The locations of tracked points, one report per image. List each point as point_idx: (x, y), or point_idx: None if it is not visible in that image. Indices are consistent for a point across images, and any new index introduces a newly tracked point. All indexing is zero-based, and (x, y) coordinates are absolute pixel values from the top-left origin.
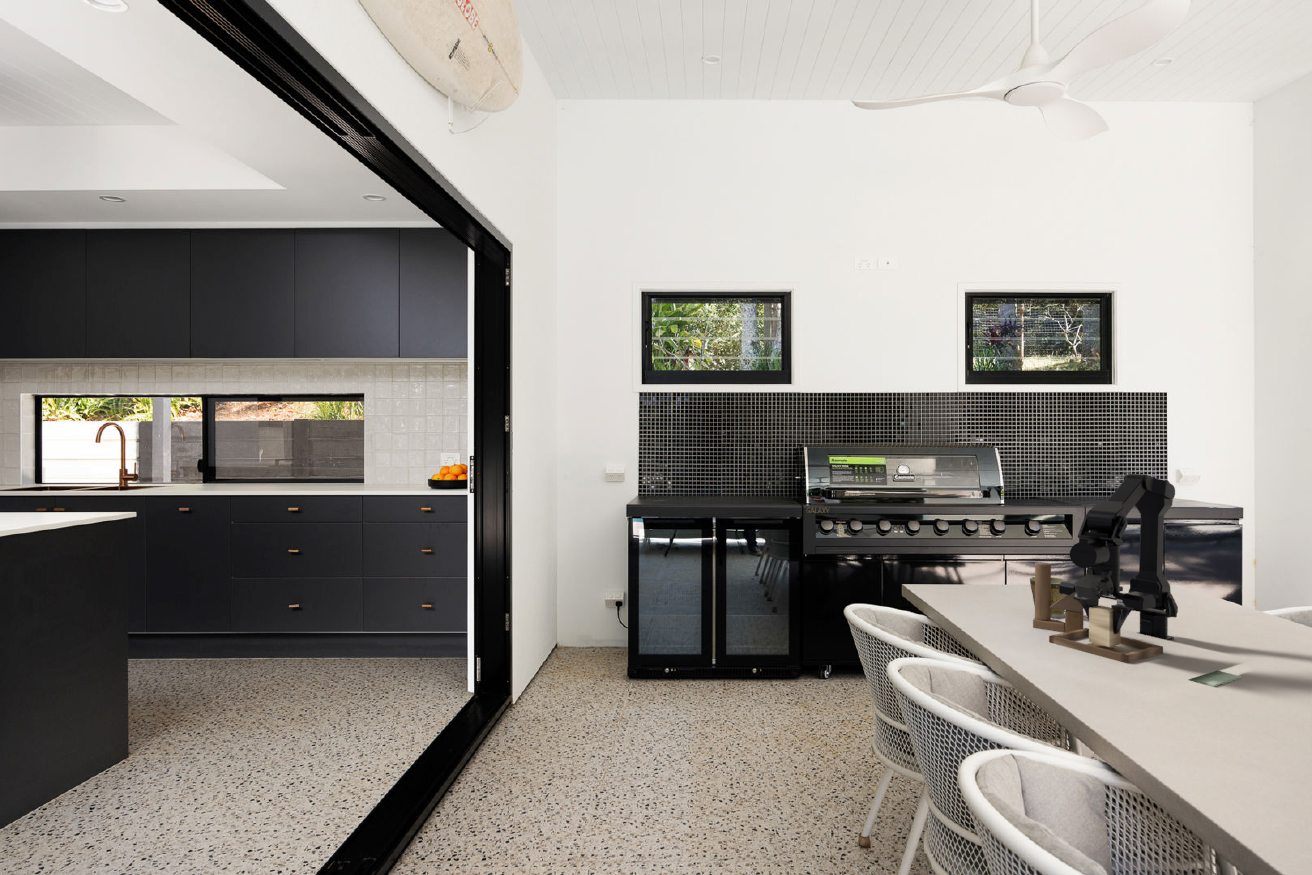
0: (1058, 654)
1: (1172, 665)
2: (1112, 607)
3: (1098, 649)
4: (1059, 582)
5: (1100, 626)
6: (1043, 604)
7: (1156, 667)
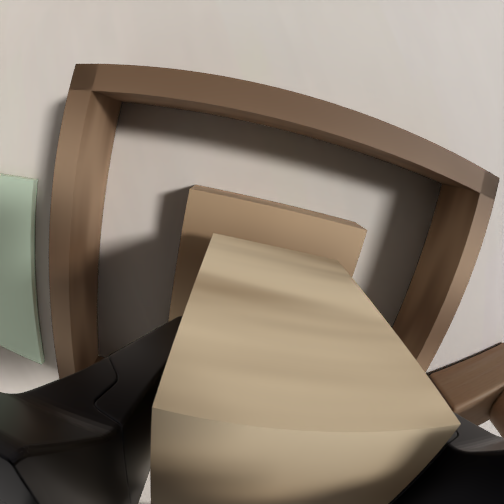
0: (410, 96)
1: (38, 313)
2: (32, 437)
3: (231, 78)
4: None
5: (282, 295)
6: None
7: (47, 237)
